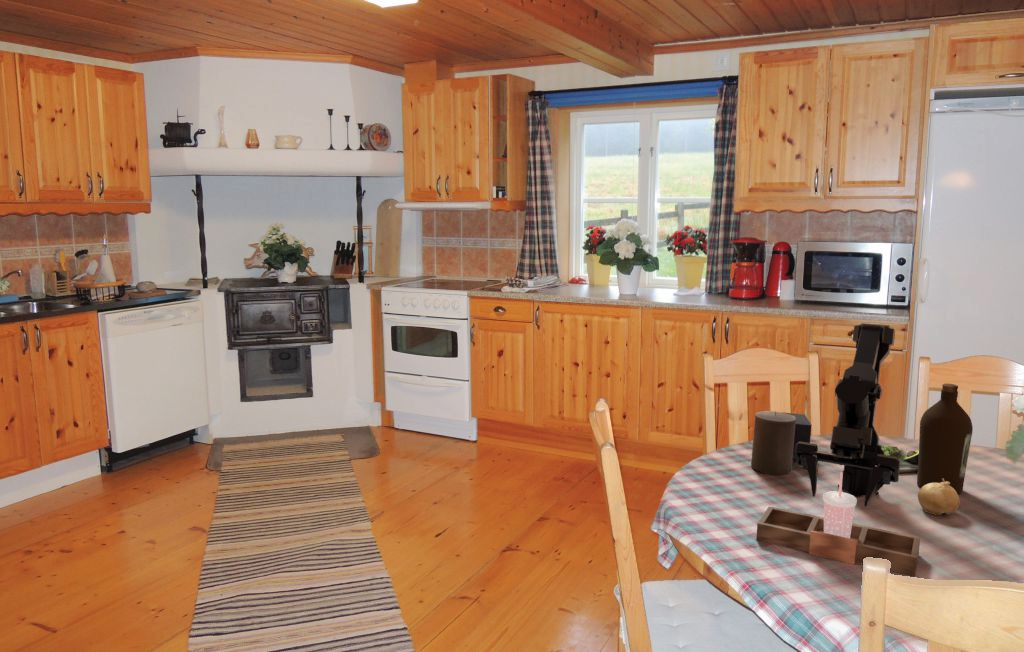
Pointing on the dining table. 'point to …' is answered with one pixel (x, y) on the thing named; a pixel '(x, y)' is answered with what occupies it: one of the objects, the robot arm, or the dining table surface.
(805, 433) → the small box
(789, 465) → the pillar candle
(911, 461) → the salad plate
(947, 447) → the olive oil
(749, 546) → the dining table surface
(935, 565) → the dining table surface
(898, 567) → the wooden compartment tray
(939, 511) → the onion
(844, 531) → the beverage cup
